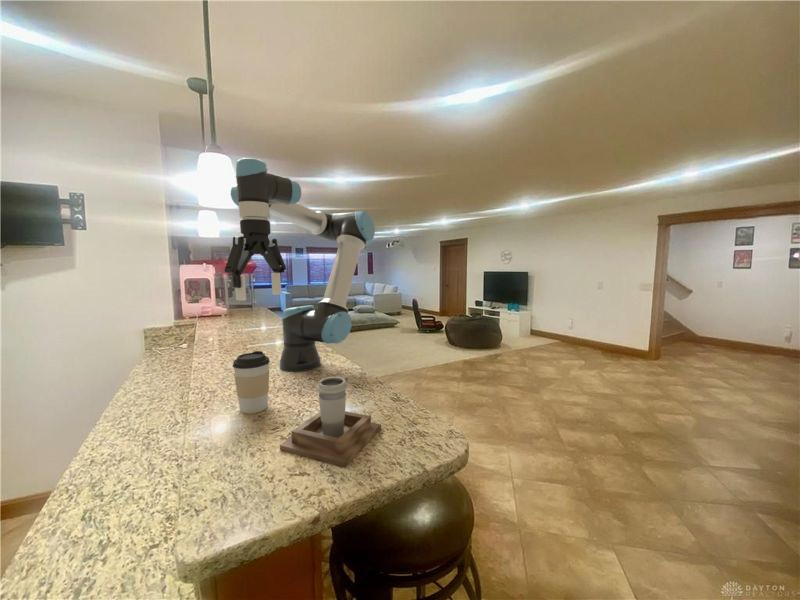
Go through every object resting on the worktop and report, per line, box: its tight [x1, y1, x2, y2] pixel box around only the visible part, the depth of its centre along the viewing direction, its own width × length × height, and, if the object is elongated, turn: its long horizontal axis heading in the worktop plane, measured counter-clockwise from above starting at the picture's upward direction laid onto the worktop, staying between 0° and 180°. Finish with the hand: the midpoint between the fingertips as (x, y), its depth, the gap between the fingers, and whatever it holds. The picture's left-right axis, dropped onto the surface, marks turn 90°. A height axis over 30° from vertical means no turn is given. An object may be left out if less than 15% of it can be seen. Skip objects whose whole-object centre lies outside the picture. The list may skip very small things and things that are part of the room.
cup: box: [316, 376, 348, 438], centre depth 71 cm, size 7×7×12 cm
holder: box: [279, 410, 382, 468], centre depth 72 cm, size 16×16×4 cm
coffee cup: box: [232, 350, 271, 414], centre depth 87 cm, size 9×9×15 cm
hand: (260, 297), depth 90 cm, fingers open, 13 cm apart
